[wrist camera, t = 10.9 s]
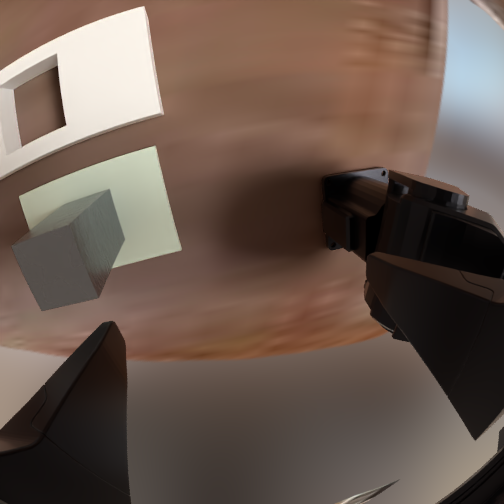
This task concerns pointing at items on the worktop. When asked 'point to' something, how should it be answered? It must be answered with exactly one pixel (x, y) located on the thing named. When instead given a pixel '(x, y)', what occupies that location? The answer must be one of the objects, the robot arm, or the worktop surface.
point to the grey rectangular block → (71, 251)
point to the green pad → (117, 202)
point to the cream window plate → (85, 86)
